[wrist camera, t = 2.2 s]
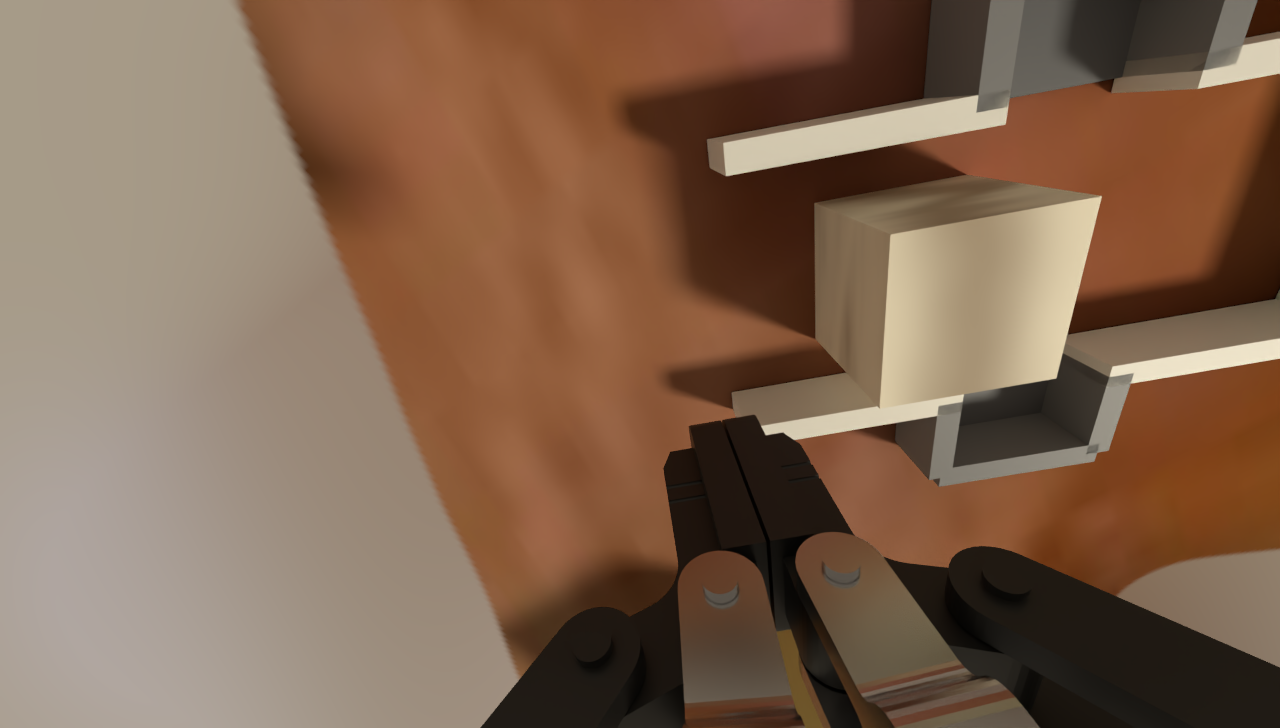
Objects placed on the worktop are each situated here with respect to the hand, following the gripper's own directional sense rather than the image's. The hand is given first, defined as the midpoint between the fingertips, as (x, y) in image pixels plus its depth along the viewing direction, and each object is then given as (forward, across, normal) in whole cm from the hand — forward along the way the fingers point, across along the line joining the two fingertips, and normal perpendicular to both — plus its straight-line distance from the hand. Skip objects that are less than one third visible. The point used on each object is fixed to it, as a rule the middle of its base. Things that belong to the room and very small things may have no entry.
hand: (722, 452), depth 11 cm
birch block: (+11, -9, 0) cm, 14 cm away
